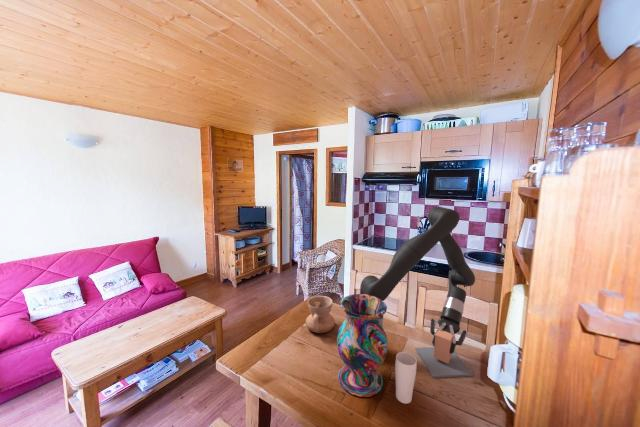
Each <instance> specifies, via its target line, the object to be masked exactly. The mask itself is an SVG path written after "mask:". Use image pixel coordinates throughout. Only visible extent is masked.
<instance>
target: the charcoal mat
mask: <svg viewBox="0 0 640 427" xmlns="http://www.w3.org/2000/svg"><path fill="white" fill-rule="evenodd" d="M414 350H415V352H416V353H417V355H418V357H419V358H420V359H421V361H422V363H423V364H424V365H425V367H426V368H427V370H428V372H429V374H430V375H431V376H432V378H434V379H435V378H438V379H440V378H455V377H456V378H459V377H474V376H475V374H474V373H473V371H472V370H471V369H470V368H469V367H468V366H467V364H466V363H465V362H464V361H463V360H462V359H461V357H460V356H459V355H458V354H457V353H456V352H455V351H454V353H452V357H451V359H450V361H449V363H448V364H447V363H445V362H443V361H441V360H439V359H436V358H434V346H430V347H427V346H425V347H423V346H422V347H415V348H414Z"/></svg>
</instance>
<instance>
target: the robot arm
mask: <svg viewBox="0 0 640 427" xmlns="http://www.w3.org/2000/svg"><path fill="white" fill-rule="evenodd" d="M427 219H428V220H427V222H429V224H430V227H429V228H428V229H427V230H426V231H424V232H422V233H420V234H417V235H415V236H413V237H411V238H408V239H407V240H406V241H405V242H404V243H403V244H402V245H401V246H400V247H399V248H398V249H397V250H396V251H395V252H394V254H393V257H392V260H391V262H390V265H389V267H388V269H387V270H386V272H384V273H383V275H382V276H381V277H379V278H378V277H377V276H375V275H372V274H371V275H370V274H369V275H366V276H365V277H364V278H363V279H362V280H361V282H360V288H359V294H366V295H371V296H374V297H377V298H379V299H381V300H382V301H383V302H384V301H386V299H388V297H389V296H390V294H391V293H392V292H393V291H394V289H395V288H396V286H397V285H399V283H400V282H401V281H402V279H403V278H404V277H406V275H408V273H409V272H410V271H411V270H412V269H413V268H414V267H415V266H416V265H417V264H418V263H419V262H420V261H422V260H423V258H424V257H425V256H426V255H427V254H428V253H429V252H430V250H432V249H433V248H434V247H435V246H436V245H437V243H439V244H440V245H441V248H442V251H443V252H444V255H445V259H446V262H447V264H448V266H449V268H450V269H451V270H450V271H449V273H448V293H447V295H446V299H445V300H444V303H443V307H442V311H441V315H440V317H439V319H438V320H436V319H434V318H431V319H430V327H429V328H430V329H429V332H430V334H431V335H432V336H433V338H432V347H434V346H435V335H436V333H437V332H438V330H440V331H442V330H443V331H446V332H448V333H451V335H453V339H452V343H451V347H450V351H449V353H450V354H452V353H454V352H455V351H456V347H457V346H460V347H461V346H463V343H464V342H465V339H466V337H467V335H468V333H467V331H466V330H463V329H462V328H461V321H462V317H463V314H464V310H465V309H464V308H465V306H464V305H465V302H466V297H467V292H466V291H465V289H464V288H461V287H459V286H463V287H472V286H474V284H475V282H476V277H475V274H474V271H473V270H472V269H471V268H470V266H469V265H468V263H467V261H466V258H465V257H464V253H463V251H462V248H461V247H460V245H459V244H458V242H457V241H456V239H455V238H454V237H453V235H452V231H454V229H456V227H457V226H458V224H459V221H460V214H459V213H458V212H457V210H454V209H452V208H446V207H443V206H434V207H432V208H431V209H430V210H429V211H428V214H427ZM379 321H380V323H381V325H382V327H383V328H384V315H382V316H381V317H380V320H379ZM437 325H438V326H439V327H438V328H437V330H436V331H435V328H436V326H437ZM457 333H459V334H460V336H459V338H458V340H457V339H456V334H457Z"/></svg>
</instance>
